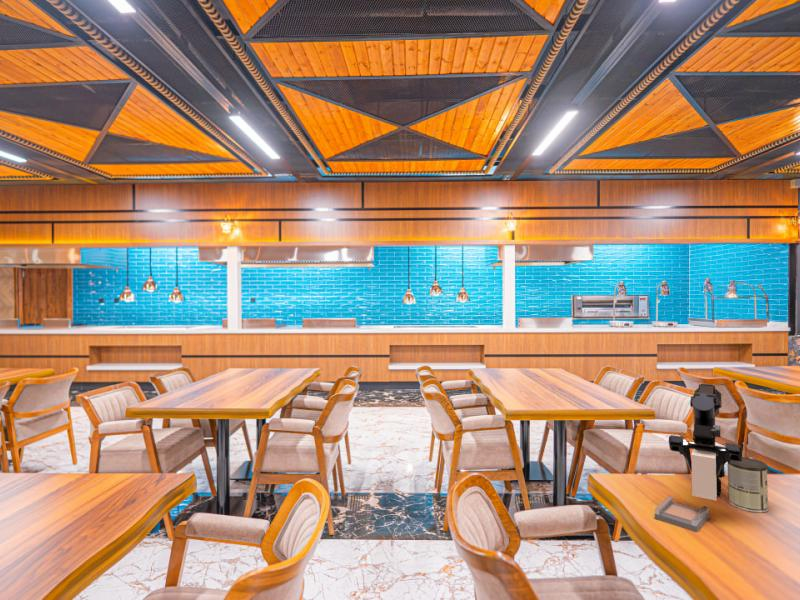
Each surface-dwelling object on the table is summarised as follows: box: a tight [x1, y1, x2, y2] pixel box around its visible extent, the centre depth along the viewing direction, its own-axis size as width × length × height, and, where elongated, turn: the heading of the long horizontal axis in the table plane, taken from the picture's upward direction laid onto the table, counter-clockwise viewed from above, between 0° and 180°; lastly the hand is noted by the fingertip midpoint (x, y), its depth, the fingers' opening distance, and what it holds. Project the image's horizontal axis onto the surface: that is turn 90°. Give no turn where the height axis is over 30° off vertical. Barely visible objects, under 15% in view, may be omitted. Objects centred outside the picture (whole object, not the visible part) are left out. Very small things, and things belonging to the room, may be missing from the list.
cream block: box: [690, 449, 718, 501], centre depth 135 cm, size 6×6×12 cm
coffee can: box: [727, 456, 769, 514], centre depth 142 cm, size 10×10×14 cm
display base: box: [654, 496, 710, 533], centre depth 134 cm, size 13×11×3 cm
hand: (703, 473), depth 134 cm, fingers closed on cream block, 6 cm apart
